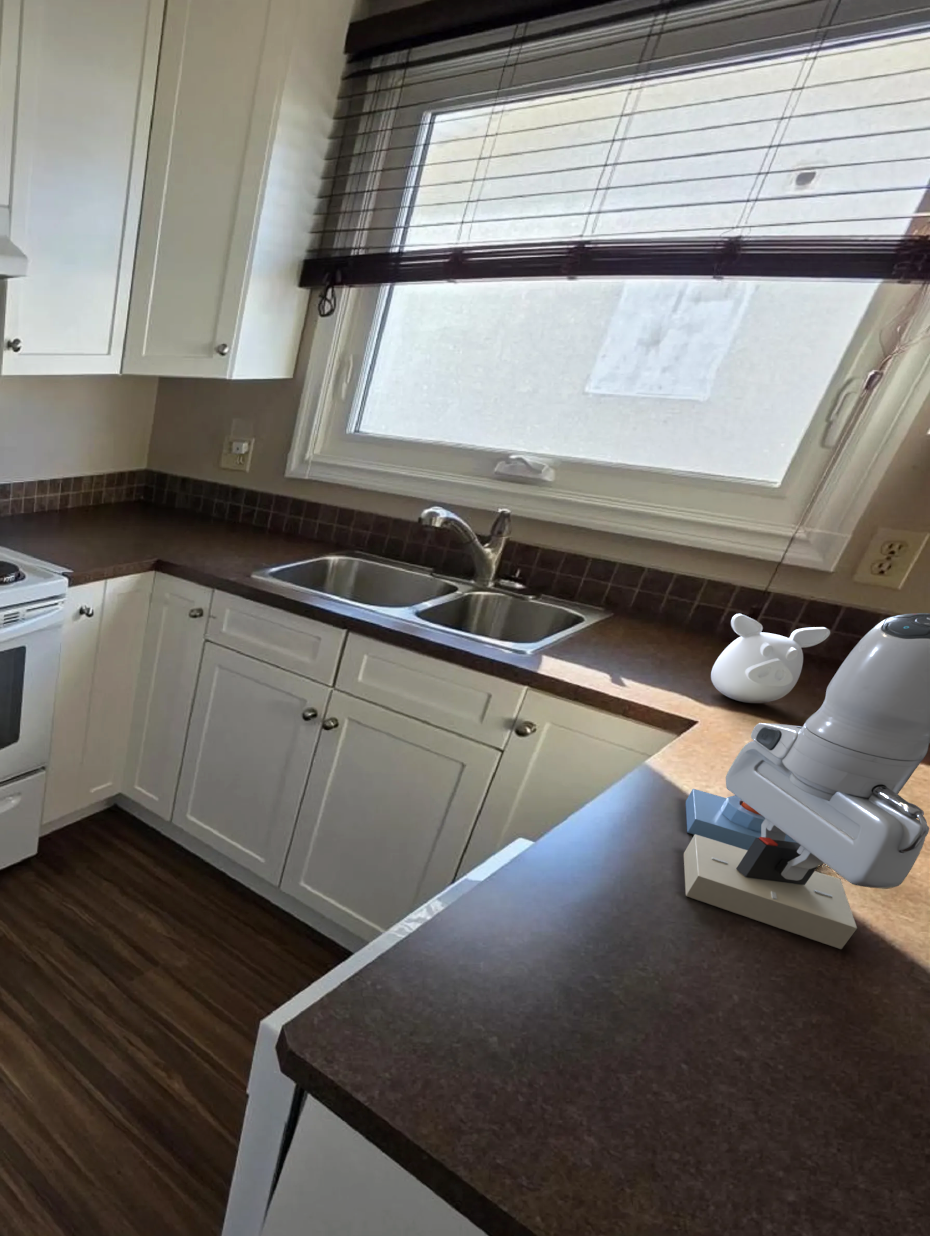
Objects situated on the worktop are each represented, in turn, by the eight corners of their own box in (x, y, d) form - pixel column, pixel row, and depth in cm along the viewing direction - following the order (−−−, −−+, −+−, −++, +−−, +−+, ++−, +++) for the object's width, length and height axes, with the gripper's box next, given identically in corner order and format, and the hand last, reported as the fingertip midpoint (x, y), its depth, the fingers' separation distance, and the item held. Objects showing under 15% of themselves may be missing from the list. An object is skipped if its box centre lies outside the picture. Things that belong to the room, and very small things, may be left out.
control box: (826, 899, 93) (841, 877, 92) (841, 949, 86) (858, 927, 84) (683, 853, 100) (695, 832, 99) (685, 896, 93) (698, 874, 91)
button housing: (802, 835, 105) (819, 810, 103) (812, 871, 98) (831, 845, 96) (685, 801, 112) (699, 777, 110) (687, 832, 105) (702, 807, 103)
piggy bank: (726, 711, 139) (771, 630, 132) (683, 683, 150) (723, 607, 143) (807, 719, 138) (857, 638, 131) (757, 691, 148) (802, 614, 141)
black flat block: (794, 876, 92) (817, 843, 90) (805, 885, 90) (828, 851, 88) (735, 868, 93) (756, 835, 91) (745, 877, 91) (767, 843, 89)
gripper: (975, 822, 75) (887, 934, 81) (806, 723, 93) (745, 821, 99) (898, 814, 76) (817, 925, 82) (745, 717, 94) (688, 814, 100)
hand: (776, 867), depth 91 cm, fingers closed, pressing on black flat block
